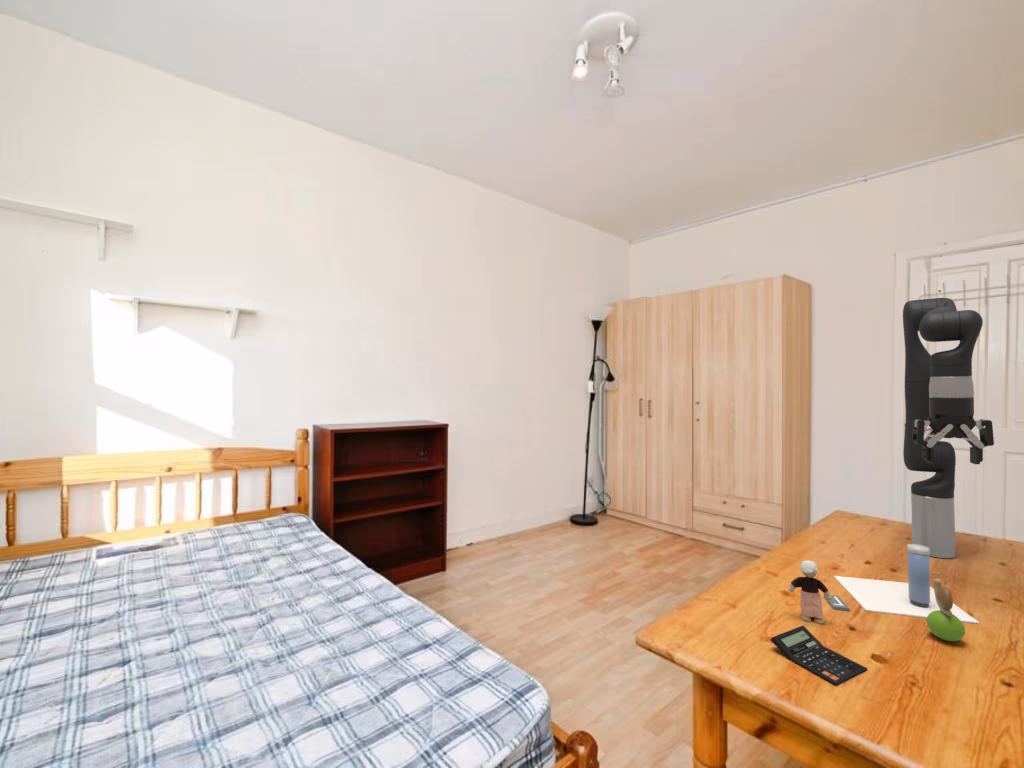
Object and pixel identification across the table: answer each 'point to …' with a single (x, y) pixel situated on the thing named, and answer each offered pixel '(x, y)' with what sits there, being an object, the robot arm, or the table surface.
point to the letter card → (837, 603)
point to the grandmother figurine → (810, 592)
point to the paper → (893, 598)
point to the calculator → (816, 656)
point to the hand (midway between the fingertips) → (952, 463)
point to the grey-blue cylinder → (918, 575)
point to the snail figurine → (944, 615)
